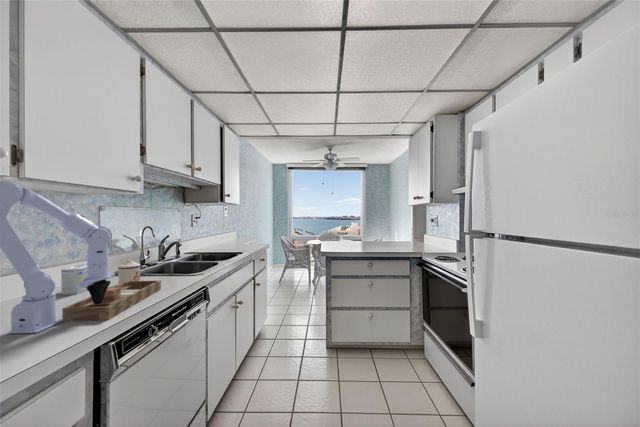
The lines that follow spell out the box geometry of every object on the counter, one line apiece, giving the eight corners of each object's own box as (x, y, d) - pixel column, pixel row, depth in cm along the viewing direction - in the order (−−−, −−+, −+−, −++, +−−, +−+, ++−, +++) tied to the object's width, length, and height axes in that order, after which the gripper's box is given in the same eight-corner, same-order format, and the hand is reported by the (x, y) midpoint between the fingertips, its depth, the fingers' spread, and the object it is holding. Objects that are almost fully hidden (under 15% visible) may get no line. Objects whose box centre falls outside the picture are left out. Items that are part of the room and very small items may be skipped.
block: (113, 301, 104) (113, 290, 104) (102, 301, 103) (102, 290, 103) (120, 298, 108) (120, 287, 108) (109, 298, 107) (109, 287, 107)
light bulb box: (79, 287, 131) (79, 264, 131) (95, 287, 132) (95, 264, 132) (60, 294, 120) (60, 269, 120) (77, 294, 121) (77, 268, 121)
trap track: (108, 319, 93) (108, 307, 93) (62, 320, 92) (62, 308, 92) (160, 289, 129) (160, 280, 129) (127, 290, 128) (127, 281, 128)
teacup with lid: (137, 285, 135) (137, 260, 135) (115, 287, 132) (115, 262, 132) (144, 279, 146) (144, 257, 146) (123, 281, 143) (123, 257, 143)
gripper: (95, 267, 91) (95, 310, 91) (123, 259, 106) (123, 296, 106) (71, 267, 91) (72, 310, 91) (102, 260, 105) (102, 297, 105)
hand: (98, 303), depth 98 cm, fingers closed
